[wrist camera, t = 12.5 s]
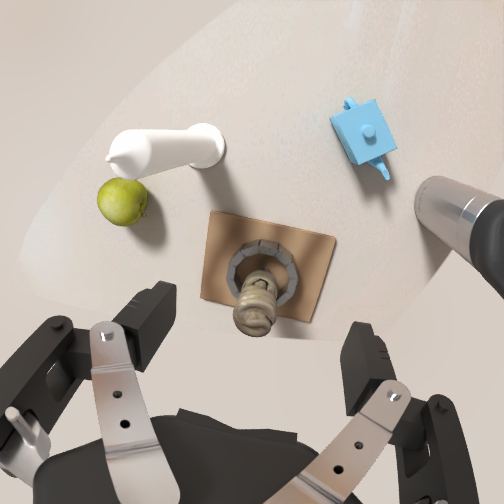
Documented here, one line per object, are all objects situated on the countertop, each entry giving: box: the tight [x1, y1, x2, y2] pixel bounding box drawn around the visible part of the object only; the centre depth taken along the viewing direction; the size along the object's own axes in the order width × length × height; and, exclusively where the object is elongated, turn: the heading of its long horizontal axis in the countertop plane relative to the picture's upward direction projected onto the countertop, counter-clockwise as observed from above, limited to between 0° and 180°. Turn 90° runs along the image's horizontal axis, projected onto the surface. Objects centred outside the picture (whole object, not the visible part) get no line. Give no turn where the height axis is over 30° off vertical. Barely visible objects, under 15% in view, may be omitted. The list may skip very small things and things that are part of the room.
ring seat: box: [226, 239, 298, 307], centre depth 46 cm, size 11×11×3 cm
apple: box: [97, 177, 147, 226], centre depth 43 cm, size 8×9×8 cm
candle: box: [106, 124, 225, 180], centre depth 30 cm, size 7×7×25 cm
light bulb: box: [233, 267, 278, 337], centre depth 40 cm, size 6×6×15 cm
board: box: [200, 211, 336, 322], centre depth 48 cm, size 20×16×1 cm
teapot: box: [330, 98, 397, 180], centre depth 35 cm, size 12×6×8 cm, turn 28°
